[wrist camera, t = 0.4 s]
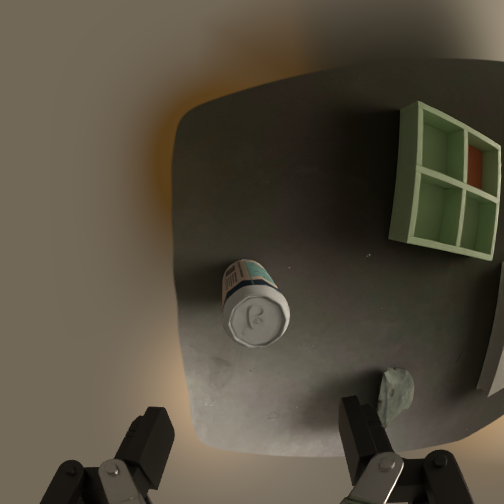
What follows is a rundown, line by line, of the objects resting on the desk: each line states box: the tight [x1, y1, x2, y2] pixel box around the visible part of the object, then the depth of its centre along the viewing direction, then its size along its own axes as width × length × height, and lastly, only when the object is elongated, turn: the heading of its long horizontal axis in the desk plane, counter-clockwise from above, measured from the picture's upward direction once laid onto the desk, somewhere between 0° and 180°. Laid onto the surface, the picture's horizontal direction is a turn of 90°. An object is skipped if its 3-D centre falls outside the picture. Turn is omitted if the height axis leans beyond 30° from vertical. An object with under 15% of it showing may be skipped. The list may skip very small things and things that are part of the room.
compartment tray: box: [388, 101, 501, 261], centre depth 30 cm, size 16×16×4 cm
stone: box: [376, 367, 414, 429], centre depth 34 cm, size 11×4×10 cm
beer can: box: [222, 260, 290, 348], centre depth 26 cm, size 5×5×12 cm
